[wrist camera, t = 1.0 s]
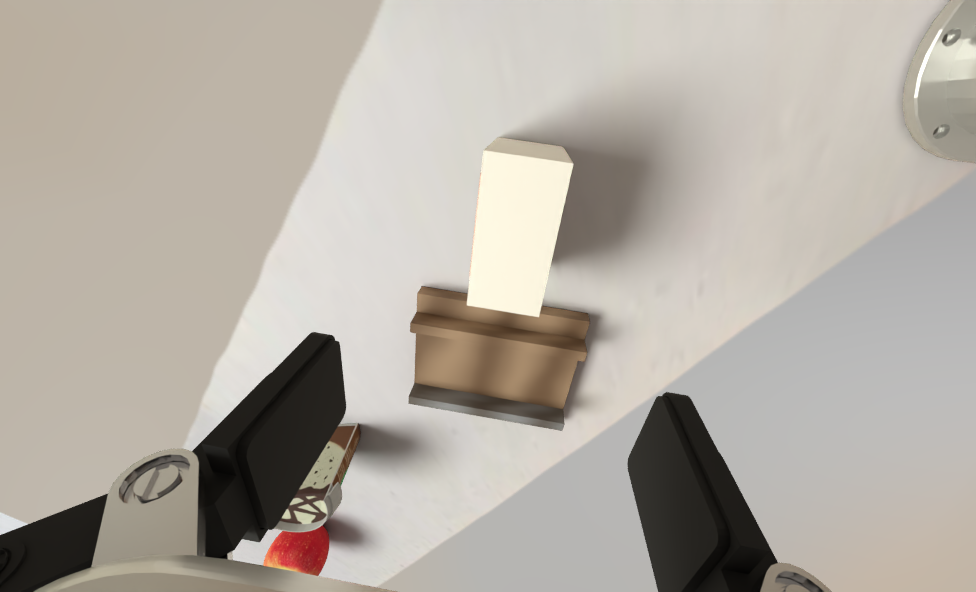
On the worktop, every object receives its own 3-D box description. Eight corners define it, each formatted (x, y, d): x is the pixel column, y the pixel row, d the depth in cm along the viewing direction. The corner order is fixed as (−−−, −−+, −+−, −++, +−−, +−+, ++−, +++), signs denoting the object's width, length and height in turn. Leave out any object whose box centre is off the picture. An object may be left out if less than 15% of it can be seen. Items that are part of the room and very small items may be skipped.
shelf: (587, 313, 34) (593, 334, 31) (556, 418, 41) (558, 443, 38) (421, 286, 35) (411, 304, 32) (417, 393, 41) (408, 417, 38)
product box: (562, 146, 28) (573, 163, 20) (537, 265, 32) (539, 317, 24) (495, 136, 28) (480, 149, 20) (481, 256, 33) (463, 304, 25)
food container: (300, 457, 50) (250, 534, 41) (281, 425, 47) (223, 500, 38) (383, 456, 47) (349, 536, 39) (369, 422, 45) (328, 500, 36)
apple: (282, 525, 59) (237, 600, 50) (297, 501, 55) (252, 577, 46) (328, 546, 60) (293, 621, 51) (346, 524, 56) (311, 601, 47)
